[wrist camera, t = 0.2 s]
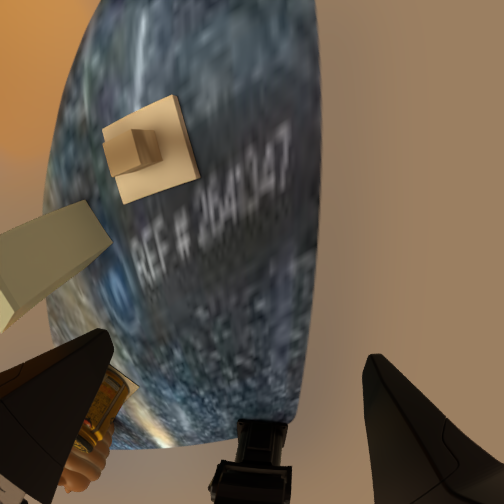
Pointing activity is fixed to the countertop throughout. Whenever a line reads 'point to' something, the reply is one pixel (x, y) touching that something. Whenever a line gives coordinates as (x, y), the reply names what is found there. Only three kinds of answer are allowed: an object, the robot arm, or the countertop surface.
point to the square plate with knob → (150, 150)
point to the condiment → (104, 409)
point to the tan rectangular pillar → (46, 257)
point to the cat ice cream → (86, 464)
